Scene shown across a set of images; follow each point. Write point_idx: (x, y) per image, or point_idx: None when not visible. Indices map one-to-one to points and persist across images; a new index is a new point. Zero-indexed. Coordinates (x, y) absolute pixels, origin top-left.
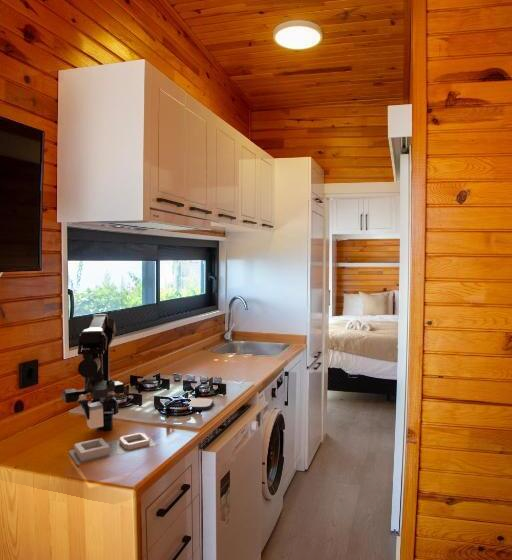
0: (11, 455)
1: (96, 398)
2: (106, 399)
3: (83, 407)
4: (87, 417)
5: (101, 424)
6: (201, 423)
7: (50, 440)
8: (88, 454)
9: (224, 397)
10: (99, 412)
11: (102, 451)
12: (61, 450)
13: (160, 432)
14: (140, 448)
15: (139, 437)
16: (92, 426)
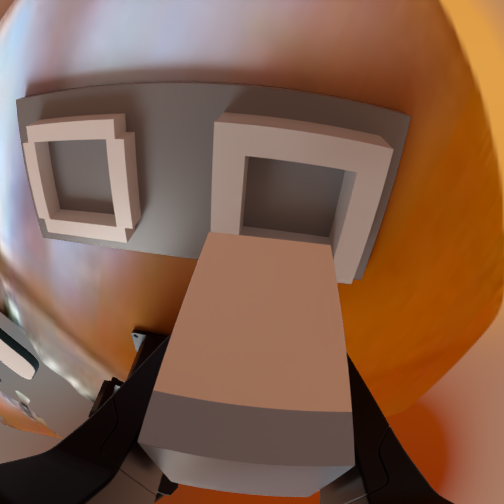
0: (456, 349)
1: None
2: (59, 486)
3: (410, 468)
4: (347, 357)
5: (223, 247)
6: None
7: None
8: (349, 135)
9: None
10: (217, 356)
11: (264, 122)
12: (357, 310)
13: (10, 228)
14: (76, 95)
15: (60, 210)
16: (314, 256)
